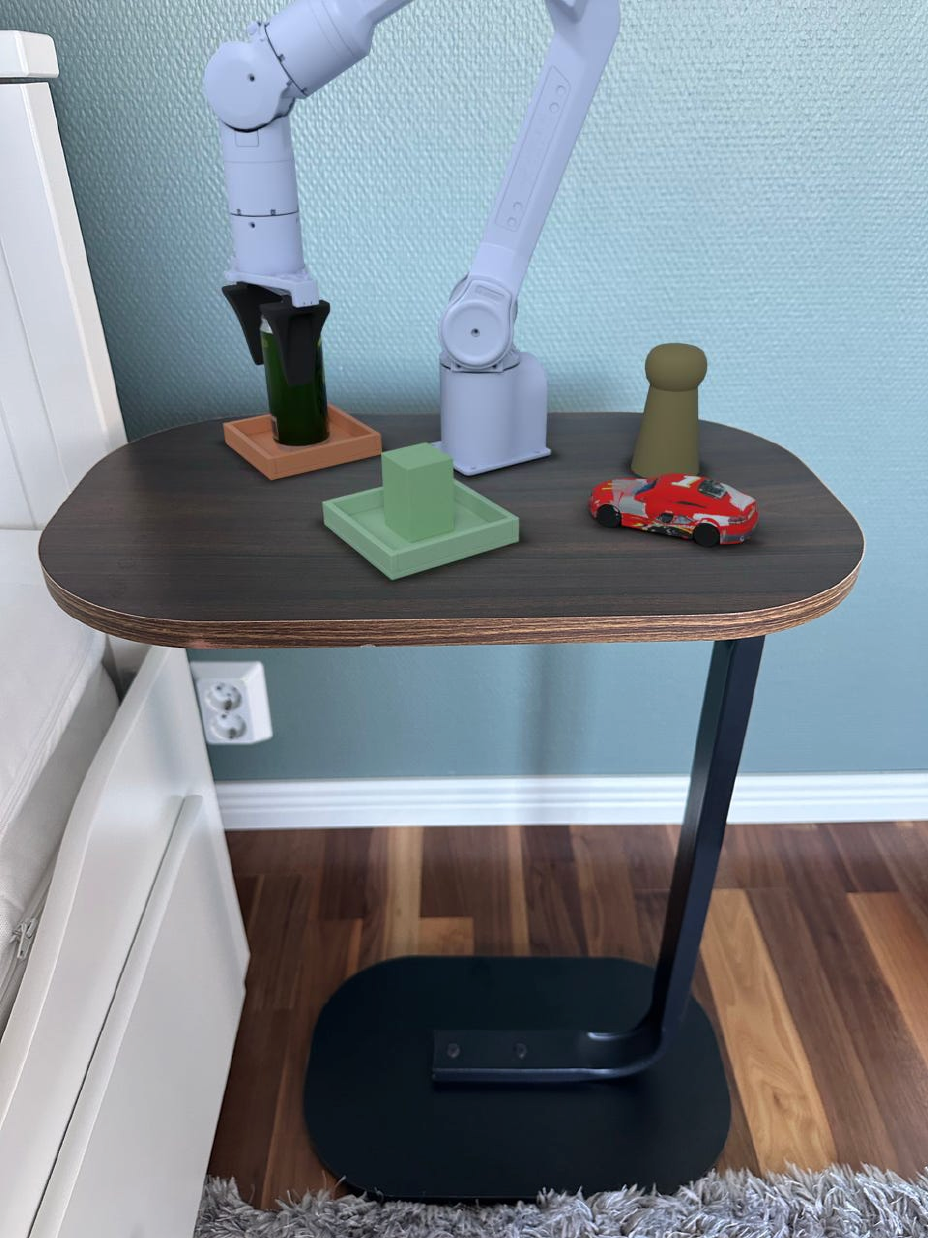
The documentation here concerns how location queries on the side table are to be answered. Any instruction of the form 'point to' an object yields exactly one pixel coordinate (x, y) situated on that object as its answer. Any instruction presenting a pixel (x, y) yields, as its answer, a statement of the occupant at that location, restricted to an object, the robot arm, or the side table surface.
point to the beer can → (294, 400)
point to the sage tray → (396, 557)
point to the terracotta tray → (263, 453)
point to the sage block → (418, 491)
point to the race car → (677, 507)
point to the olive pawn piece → (670, 412)
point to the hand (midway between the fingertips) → (282, 373)
